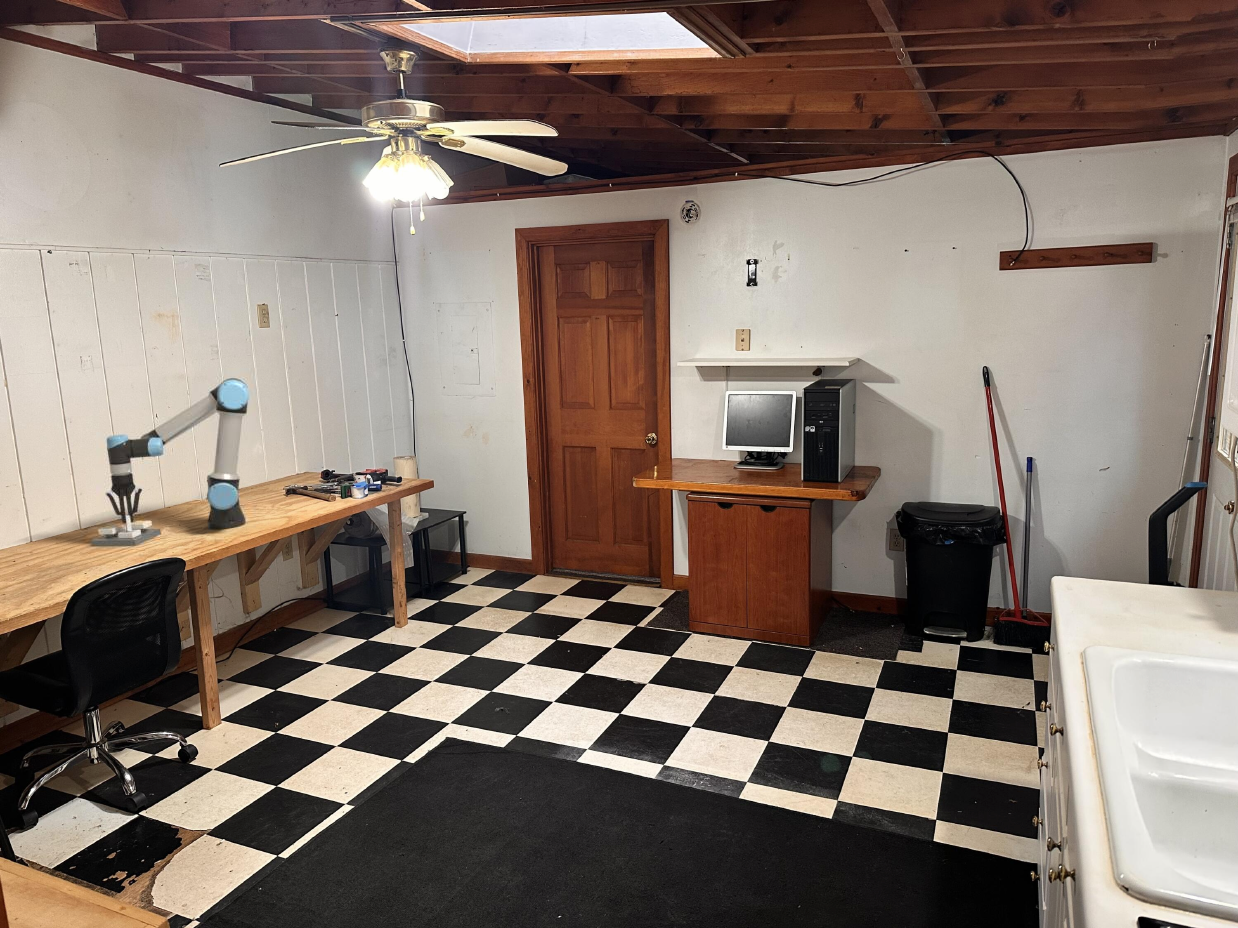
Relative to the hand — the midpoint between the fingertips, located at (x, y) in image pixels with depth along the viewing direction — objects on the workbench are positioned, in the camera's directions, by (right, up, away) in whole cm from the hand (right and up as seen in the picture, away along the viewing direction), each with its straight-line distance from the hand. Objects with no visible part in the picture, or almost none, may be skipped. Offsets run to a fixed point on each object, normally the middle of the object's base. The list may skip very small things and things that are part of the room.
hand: (129, 530), depth 349 cm
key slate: (0, -4, +1) cm, 4 cm away
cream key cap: (+1, -1, +8) cm, 9 cm away
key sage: (-8, -3, +1) cm, 8 cm away
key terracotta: (-7, -3, +9) cm, 12 cm away
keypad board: (-4, -4, +5) cm, 8 cm away
